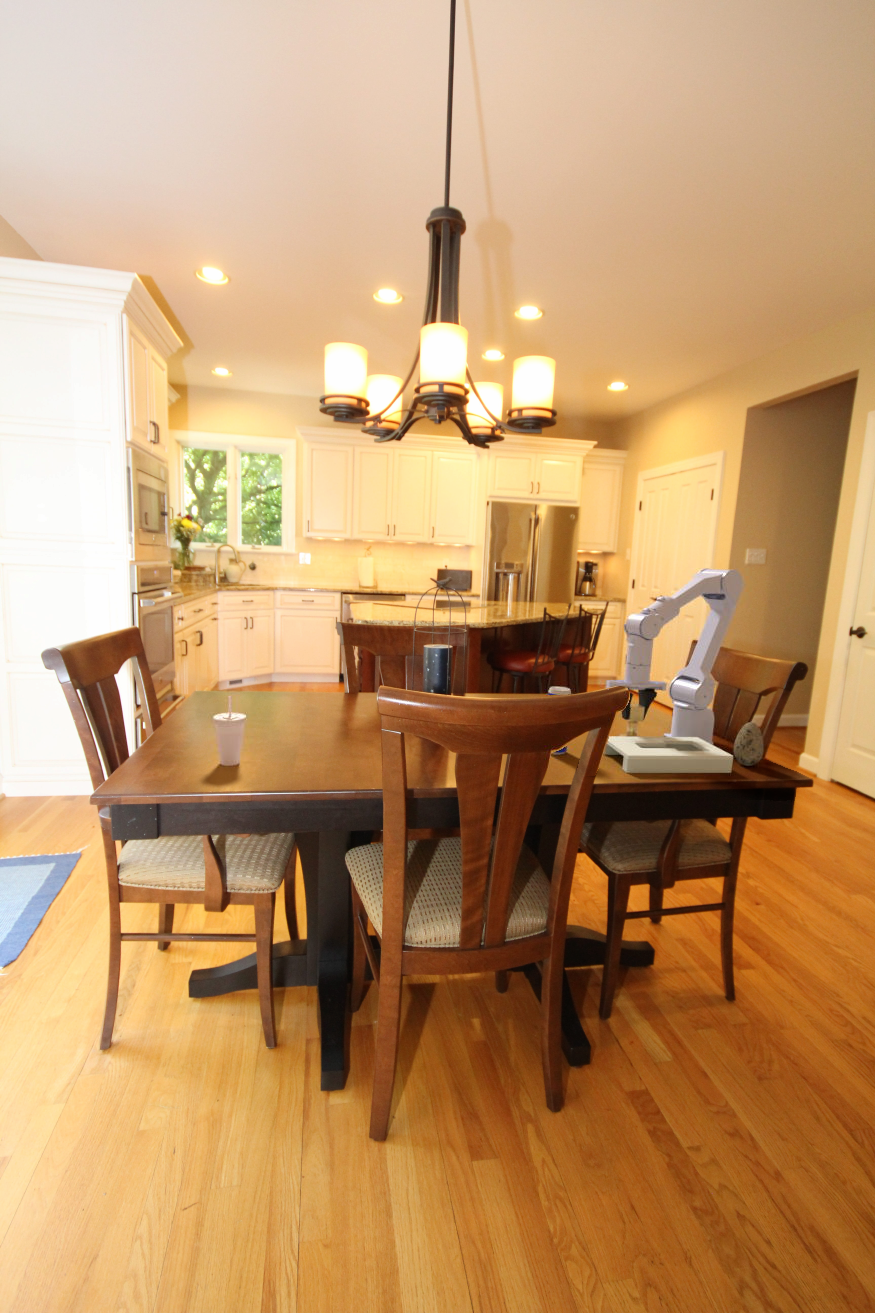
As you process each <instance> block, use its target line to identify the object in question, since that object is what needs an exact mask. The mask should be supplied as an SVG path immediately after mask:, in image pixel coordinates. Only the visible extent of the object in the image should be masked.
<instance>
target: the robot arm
mask: <svg viewBox="0 0 875 1313" xmlns="http://www.w3.org/2000/svg"><path fill="white" fill-rule="evenodd" d="M744 587H745V582H744V580H743V576H742V575H741V572H740V571H739V570H737V569H735V568H734V569H731V568H730V569H719V568H718V569H716V568H714V569H713V568H709V567H707V568H702V569H700V570H699V571H698V572H696V573H694V574H693V576H692V579H691V580H689V582H687V583H686V584H685V585H683V586H682V587H681V588H680V589H679V590H677V591H676V592H675V593H673V595H671V596H668V595H665V596H658V597H657V598H656V601H655V602H653V603H652V604H650V605H649V606H648V607H643V608H642V611H641V612H640V613H637V612H635V613H633V614H631V615H629V616H628V618H627V619H626V621H625V623H624V624H623V630H624V633H625V635H626V641H627V649H626V661H625V670H624V671H625V672H624V679H616V680H615V679H614V680H613V679H611V680H609V679H608V680H606V682H605V683H606V684H605V689H607V688H610V687H614V686H625V687H627V688H628V689H629V691H631V690H633V691H634V690H635V691H636V690H637V692H638V704H639V705H641V706H643V707H645V709H644V718H643V721H644V720H645V718H646V715H647V713H648V711H649V708H650V706H651V705H652V703H653V702H654V700H655V699H656V697H657V696H658V692H657V691H665V692H666V691H667V692H668V695H669V698H670V699H671V703H672V704H673V711H672V719H671V727H670V728H671V729H670V733H667V732H666V733H663V737H698V738H700V739H702V740H704V741H706V742H708V743H710V744H712V745H714V741H713V734H714V727H715V713H714V711H713V709H712V708H711V707H709V706H711V704H712V702H713V700H714V696H715V695H714V694H715V687H716V684H717V682H716V681H715V679H714V678H713V676H712V674H711V671H712V669H713V666H714V665H715V662H716V659H717V657H718V655H719V652H720V650H721V647H722V645H723V643H724V639H725V637H726V635H727V633H728V629H729V627H730V624H731V623H732V620H733V617H734V615H735V613H736V611H737V610H736V609H737V605H738V604H737V603H738V602H739V599H740V596H741V594H742V592H743V589H744ZM699 597H702V598H703V600H704V601H705V603H706V604H708V606H709V608H710V610H709V613H708V615H707V618H706V621H705V623H704V625H703V628H702V630H701V632H700V635H699V638H698V640H697V643H696V645H695V647H694V650H693V653H692V655H691V658H690V660H689V663H688V665H687V666H686V667H683V668H681V669H679V670H678V671H677V673H676V676H675V677H674V678H673V679H672V681H670V684H667V682H665V681H661V680H660V681H659V680H658V681H657V680H650V677H651V667H652V660H653V659H652V656H653V648H654V639H655V638H657V637H658V636H659V634H660V633H661V629H662V628H663V627H664V626H665V625H667V624H668V623H670V622H671V621H673V619H676V617H678V616H679V614H680V612H681V608H682V607H684V606H686V605H687V604H689V603H691V602H692V601H694V600H695V599H697V598H699ZM668 685H669V686H668ZM667 686H668V690H667ZM633 696H634V694H633V693H632V692H630V700H629V703H628V705H627V706H626V708H625V709H624V710H623V711H621V710H620V711H621V718H622V719H624V720H626V721H628V718H629V712H630V704H632V700H633V699H632V698H633Z"/></svg>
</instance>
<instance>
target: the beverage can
mask: <svg viewBox="0 0 875 1313" xmlns="http://www.w3.org/2000/svg"><path fill="white" fill-rule="evenodd" d="M547 693H548V694H547V696H548V695H568V694H571V695H572V691H571V689H570V688H569V687H566V686H550V687H549V689H548V692H547ZM567 749H568V745H567V746H566V747H564V748H563V749H561V750H559V751H556V752H554V753H553V754H552V755H553V756H555V755H556V756H559V755H560V756H562V755H564V754H565V753H566V752H567ZM561 754H562V755H561Z"/></svg>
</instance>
